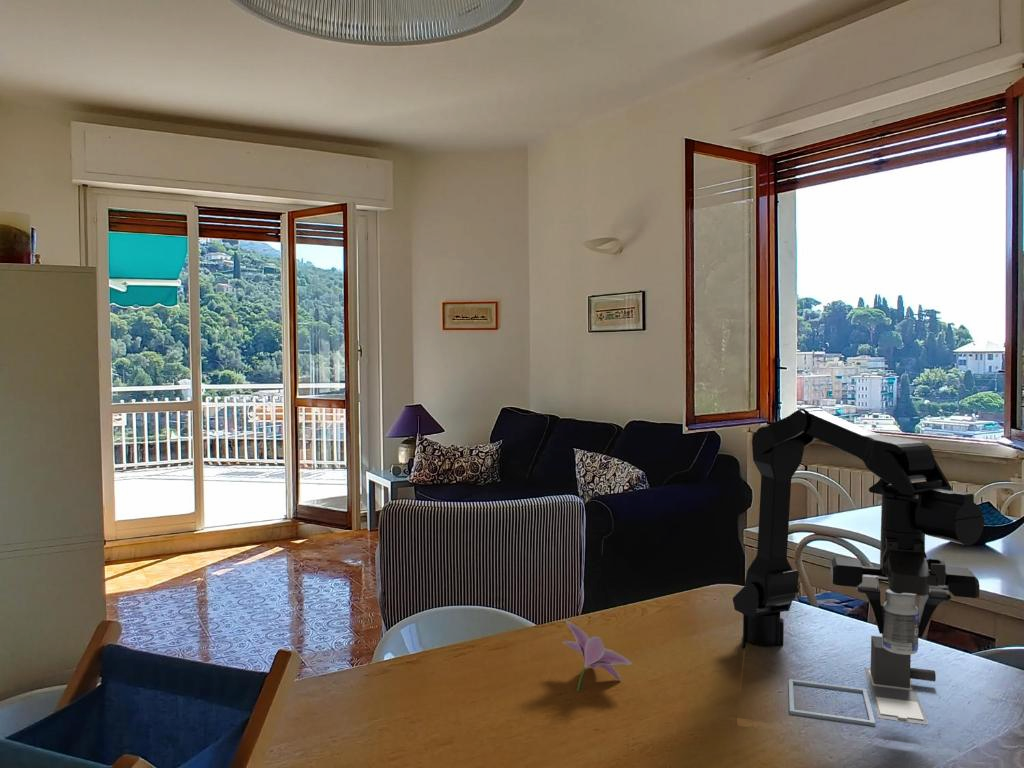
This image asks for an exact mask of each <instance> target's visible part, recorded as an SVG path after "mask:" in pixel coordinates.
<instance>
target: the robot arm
mask: <svg viewBox="0 0 1024 768" xmlns="http://www.w3.org/2000/svg"><path fill="white" fill-rule="evenodd" d="M816 440H819V441H821V442H823V443H825V444H827V445H830V446H831V447H834V448H836V449H838V450H840V451H843V452H845V453H847V454H848V455H851V456H853V457H856V458H858V459H859V460H861V461H862V462H863V463H864V465H865V468H866V469H867V470H869V472H871V473H872V474H873V475H875V476H876V477H877V478H879V480H877V482H876V483H874V484H873V485H871V486H870V487H868V492H869V493H872V494H875V495H881V508H880V509H881V511H880V519H881V520H880V546H879V547H880V549H879V550H880V551H879V567H876V566H875V567H874V566H865V565H864V566H863V565H862V563H861V560H860V558H851V557H850V558H849V557H841V556H840V557H839V556H835V557H833V558H832V559H831V560H830V578H831V582H832V584H833V585H835V586H842V587H852V588H856V590H857V592H859V593H861V594H865V596H866V597H867V600H868V602H869V603H870V606H871V610H872V613H873V616H874V619H875V622H876V626H877V629H878V633H879V634H880V635H882V633H883V619H882V616H883V609H882V603H881V602H882V601H881V590H880V588H879V585H878V584H879V582H888V589H890V590H891V591H892V592H894V593H898V594H902V593H911V594H916V596H919V604H918V609H919V628H918V639H922V638H923V635H924V633H925V630H926V629H927V627H928V624H929V622H930V619H931V618H932V615H933V614H934V612H935V611H936V609H937V608H938V606H939V605H940V604H942V603H943V602H950V601H951V600H952V596H954V597H959V598H967V599H969V598H970V599H979V598H980V587H981V586H980V581H979V579H978V578H977V577H976V576H975V575H974V573H973V572H972V571H971V570H970V569H969V568H968V567H963V566H962V567H961V566H959V567H958V566H948V565H946V561H945V560H944V559H941V558H931V557H930V558H928V556H927V554H926V536H929V537H933V538H936V539H939V540H943V541H947V542H952V543H955V544H960V545H964V546H971V545H973V544H975V543H977V541H978V540H979V539H980V538H981V536H982V534H983V531H984V528H985V517H984V515H983V512H982V509H981V507H979V504H977V503H975V495H974V494H973V493H971V492H966V491H965V492H964V491H962V492H959V491H953V490H952V489H953V488H952V486H951V484H950V483H949V480H948V479H947V477H946V476H945V474H944V472H943V471H942V469H941V467H940V466H939V464H938V462H937V461H936V459H935V455H934V453H933V449H932V447H931V446H930V445H929V444H927V443H926V442H924V441H920V440H916V439H911V438H905V437H900V436H899V437H897V436H889V435H883V434H879V433H878V432H877V433H876V432H874V431H872V430H869V429H868V428H865V427H862V426H859V425H857V424H855V423H852V422H850V421H848V420H845V419H842V418H840V417H838V416H835V415H833V414H830V413H829V412H827V411H826V410H825V409H822V408H819V407H812V408H811V407H810V408H799V409H798V410H796V411H794V412H793V413H791V414H790V415H788V416H786V417H784V418H783V417H782V418H781V419H779V420H776V421H774V422H772V423H770V424H768V425H767V426H761V427H759V428H758V429H757V430H756V431H755V432H754V433H753V435H752V439H751V445H752V450H751V451H752V460H753V463H754V465H755V466H756V468H757V470H758V472H759V474H760V494H759V512H758V514H759V515H758V529H757V530H758V532H757V535H758V536H757V550H756V551H757V552H756V555H755V558H754V559H753V561H752V562H751V564H750V565H749V567H748V568H747V571H746V576H745V582H744V587H742V588H741V589H740V590H739V591H738V592H737V593H735V595H734V596H733V597H732V602H733V607H734V610H735V611H737V612H739V613H741V614H742V639H741V648H742V649H746V645H747V644H749V645H753V646H756V647H765V648H771V647H775V646H776V647H780V646H781V647H783V646H784V633H785V631H784V630H785V629H784V625H785V624H784V623H785V622H784V619H783V618H782V617H781V613H782V612H789V611H790V609H791V606H792V602H793V601H795V599H796V595H797V594H799V592H800V590H799V587H798V586H799V585H798V584H799V577H800V573H799V571H798V570H797V569H794V568H793V567H792V565H791V564H790V561H789V559H788V545H789V544H788V543H789V542H788V541H789V529H790V528H789V527H790V525H789V524H790V509H791V506H790V505H791V492H792V478H793V476H794V475H795V473H796V472H797V470H798V468H799V467H800V466H801V464H802V461H803V455H804V450H805V448H806V447H807V446H809V445H811V444H813V443H814V442H815V441H816ZM924 480H925V481H924ZM949 592H950V593H951V594H952V596H951V594H950V593H949Z"/></svg>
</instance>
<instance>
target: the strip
mask: <svg viewBox="0 0 1024 768" xmlns="http://www.w3.org/2000/svg"><path fill="white" fill-rule="evenodd" d="M864 671H865V675H866V678H867V679H866V680H867V682H868V686H869V690H870V694H871V699H872V701H873V705H874V709H875V713H876V716H877V719H882V720H888V721H897V722H903V723H910V724H916V725H917V724H918V725H925V726H929V725H930V724H929V721H928V718H927V715H926V714H925V712H924V711H925V710H924V708H923V706H922V704H921V701H920V699H919V696H918V694H917V691H916V688H915V687H914V683H913V681H912V679H911V678H910V688H902V687H894V686H886V685H878V684H874V682H873V678H872V675H871V667H870V668H869V667H864Z"/></svg>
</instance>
